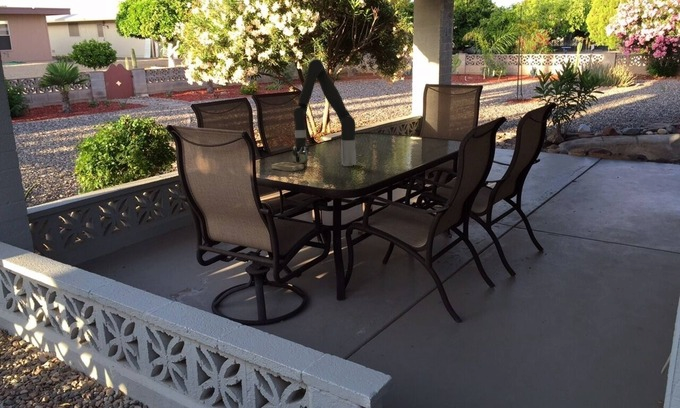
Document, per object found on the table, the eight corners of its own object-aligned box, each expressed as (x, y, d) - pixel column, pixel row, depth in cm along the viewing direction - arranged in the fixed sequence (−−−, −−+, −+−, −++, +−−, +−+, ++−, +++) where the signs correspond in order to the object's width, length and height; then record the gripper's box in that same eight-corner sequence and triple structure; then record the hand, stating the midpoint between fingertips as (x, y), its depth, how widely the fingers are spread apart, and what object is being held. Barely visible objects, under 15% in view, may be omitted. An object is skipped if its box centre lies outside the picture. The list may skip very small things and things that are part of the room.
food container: (311, 165, 398) (311, 151, 396) (306, 167, 393) (306, 152, 390) (296, 164, 404) (296, 150, 402) (291, 166, 399) (291, 151, 397)
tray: (284, 166, 398) (284, 161, 398) (303, 168, 387) (303, 164, 387) (271, 168, 389) (271, 164, 389) (291, 171, 378) (291, 167, 378)
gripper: (303, 135, 401) (304, 159, 405) (289, 137, 391) (289, 162, 394) (311, 135, 397) (312, 160, 401) (297, 138, 386) (298, 163, 390)
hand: (301, 161), depth 398 cm, fingers closed on food container, 6 cm apart
